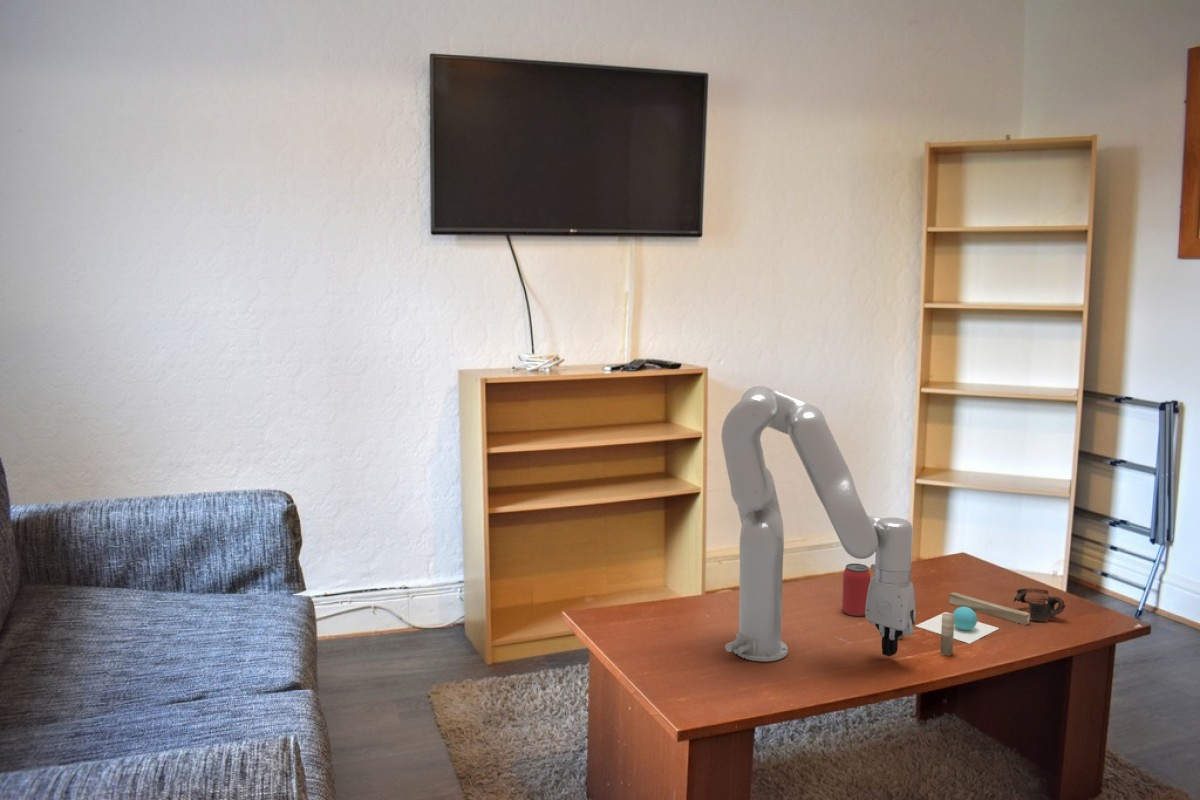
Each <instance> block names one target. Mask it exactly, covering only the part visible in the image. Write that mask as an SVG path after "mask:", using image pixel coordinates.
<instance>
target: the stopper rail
mask: <svg viewBox="0 0 1200 800" xmlns="http://www.w3.org/2000/svg"><path fill="white" fill-rule="evenodd" d="M948 597H949V600H948V603H949V604H951V605H955V606H958V607H968V608H970V609H972V610H973V611H974V612H978V611H979V613H981V612H983V613H982V614H985V613H986V614H985V615H988V614H989V616H992V617H995V616H996V617H995V618H998V617H1000V618H999V619H1003V620H1005V621H1009V622H1012V623H1015V622H1016V624H1019V623H1020V625H1022V624H1023V626H1027V625H1028V624H1030V620H1029V619H1030V614H1029V613H1026V612H1023V610H1018V609H1015V608H1012V607H1008V606H1004V605H1001V604H998V603H995V602H994V603H993V602H990V601H986V600H982V599H980V598H975V597H972V596H968V595H966V594H963V593H962V594H961V593H958V592H955V591H954V592H950V593H949V596H948Z"/></svg>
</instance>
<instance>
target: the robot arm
mask: <svg viewBox="0 0 1200 800" xmlns="http://www.w3.org/2000/svg"><path fill="white" fill-rule="evenodd" d="M766 428H770V429H773V430H774V431H777V432H780V433H782V434H786V435H788V436H789V438H790V441H791V443H792V445H793V447H794V449H795V451H796V454H797V455H798V457H799V459H800V461H801V463H802V465H803V466H804V467H803V468H804V469H805V471H806V473H807V475H808V477H809V480H810V482H811V484H812V487H813V488H814V490H815V493H816V495H817V497H818V498H819V500H820V502H821V504H822V505H823V507H824V510H825V511H826V514H827V516H828V518H829V520H830V523H831V525H832V527H833V530H834V531H835V533H836V535H837V538H838V539H839V541H840V544H841V546H842V548H843V549H844V551H845V553H847V554H848V555H849V556H850V557H852V558H855V559H859V560H864V559H868V558H870V557H872V556H873V555H874V554H875V561H874V562H875V563H872V564H871V565H870V569H871V571H874V574H873V576H870V584H869V588H868V593H867V600H866V611H865V614H866V615H865V618H866V620H867V621H868V622H869V623H870V624H872V626H875V627H876V629H877V630H878V631H879V635H880V637H881V649H882V650H881V654H882V655H883V656H886V657H888V658H889V657H892V656H894V655H896V654H897V653H898V646H899V645H898V644H899V639H898V638H899V637H900V636H901V635H903V636H912V635H913V634H914V632H915V631H914V627H915V623H916V597H915V596H916V595H915V589H914V584H913V582H911V576H912V574H911V572H912V553H913V552H912V551H913V528H914V527H913V525H912V523H911V522H910V521H909V520H907V519H904V518H899V517H885V518H883V517H877V516H873V515H867V512H866V510H865V508H864V506H863V504H862V501H861V498H860V496H859V494H858V492H857V489H856V485H855V483H854V479H853V476H852V473H851V471H850V469H849V466H848V464H847V462H846V461H845V458H844V456H843V455H842V452H841V450H840V448H839V446H838V444H837V442H836V440H835V437H834V436H833V434H832V431H831V429H830V428H829V425H828V423H827V421H826V418H825V415H824V413H823V412H822V410H820V409H819V408H818V407H817V406H814V405H813V404H810V403H809V402H806V401H805V402H804V401H802V400H800V399H797V398H795V397H792V396H789V395H787V394H785V393H782V392H780V391H778V390H775V389H774V388H773V389H772V388H770V387H767V386H764V385H763V386H761V385H757V386H753V387H752V386H751V387H750V388H748V389H747V390H746V391H745V392H744V393H743V394H742V395H741V399H740V400H739V401H738V402H737V403H736V404H735V405H734V406H733V407H732V408H731V409H730V411H729V412H728V413H727V415H726V417H725V419H724V421H723V424H722V427H721V444H722V449H723V454H724V460H725V467H726V470H727V475H728V479H729V485H730V494H731V497H732V499H733V501H734V503H735V504H736V507H737V509H738V513H739V519H740V523H741V529H740V535H739V595H738V597H739V598H738V599H739V600H738V601H739V610H738V616H739V617H738V632H737V633H736V635H735V639H734V640H733V641H730V642H727V643H725V646H724V647H725V651H727V652H728V653H731V652H733V654H735V655H736V654H737V655H738V656H737V655H736V656H737V657H739V656H740V658H741V657H742V659H744V658H745V659H744V660H748V661H753V662H761V663H762V662H764V663H766V662H775V661H780V660H782V659H784V658H785V657H786V656H788V652H789V647H788V645H787V644H786V643H785V642H784V641H782V621H783V620H782V619H783V618H782V616H783V614H782V612H783V568H784V566H783V565H784V552H785V551H784V550H785V549H784V548H785V537H784V536H785V534H784V522H783V517H782V512H781V508H780V504H779V499H778V495H777V491H776V486H775V481H774V477H773V475H772V473H771V471H770V469H768V467H767V466H766V462H765V458H764V451H763V447H762V443H761V436H762V433H763V431H764V430H765V429H766Z"/></svg>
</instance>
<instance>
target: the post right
mask: <svg viewBox="0 0 1200 800" xmlns="http://www.w3.org/2000/svg"><path fill="white" fill-rule="evenodd" d="M944 613H945V612H944ZM947 613H948V612H947ZM947 613H945V614H942V613H941V614H942V629H941V635H940V650H939V651H940V652H939V654H940V655H942V654H943V655H942V656H944V655H947V656H946V657H949V656H948V655H952V654H953V651H954V639H953V636H954V617H955V616H954V615H952V614H953V613H951V614H947ZM952 656H953V655H952Z"/></svg>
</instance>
